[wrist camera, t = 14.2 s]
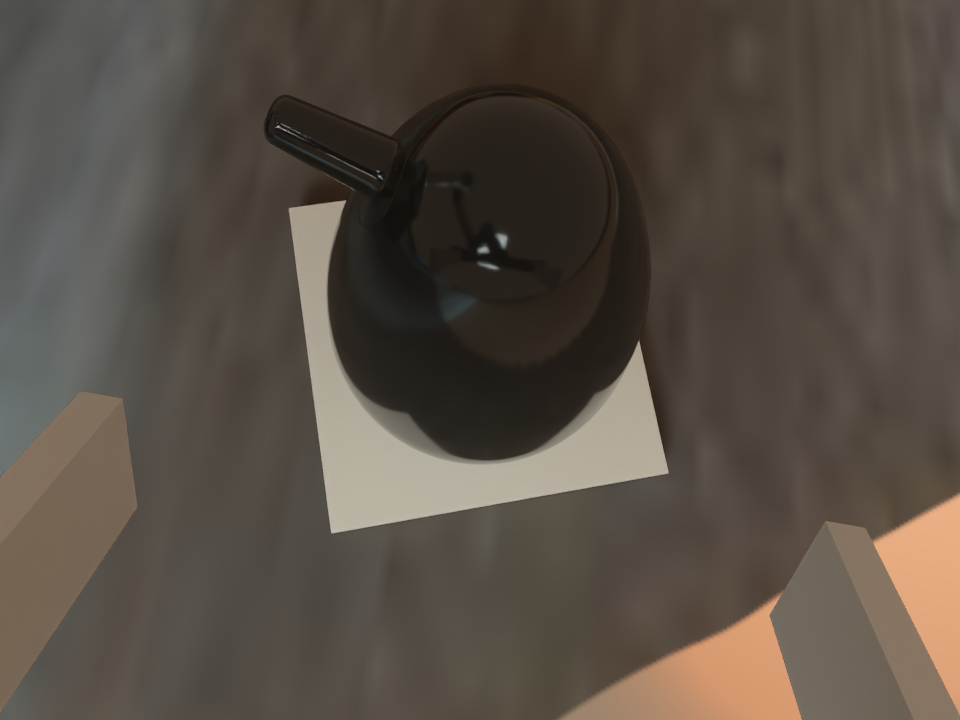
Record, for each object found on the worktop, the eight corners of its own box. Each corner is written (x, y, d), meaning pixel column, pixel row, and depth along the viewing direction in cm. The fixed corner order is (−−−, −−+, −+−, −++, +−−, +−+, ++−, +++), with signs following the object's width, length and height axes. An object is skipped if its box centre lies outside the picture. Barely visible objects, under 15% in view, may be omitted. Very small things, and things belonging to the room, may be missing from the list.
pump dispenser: (387, 187, 30) (335, -133, 15) (630, 260, 30) (820, 11, 15) (304, 425, 28) (148, 325, 13) (566, 503, 28) (713, 495, 13)
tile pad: (295, 222, 31) (288, 208, 29) (592, 181, 32) (600, 165, 31) (337, 532, 28) (331, 533, 27) (657, 475, 30) (668, 473, 28)
